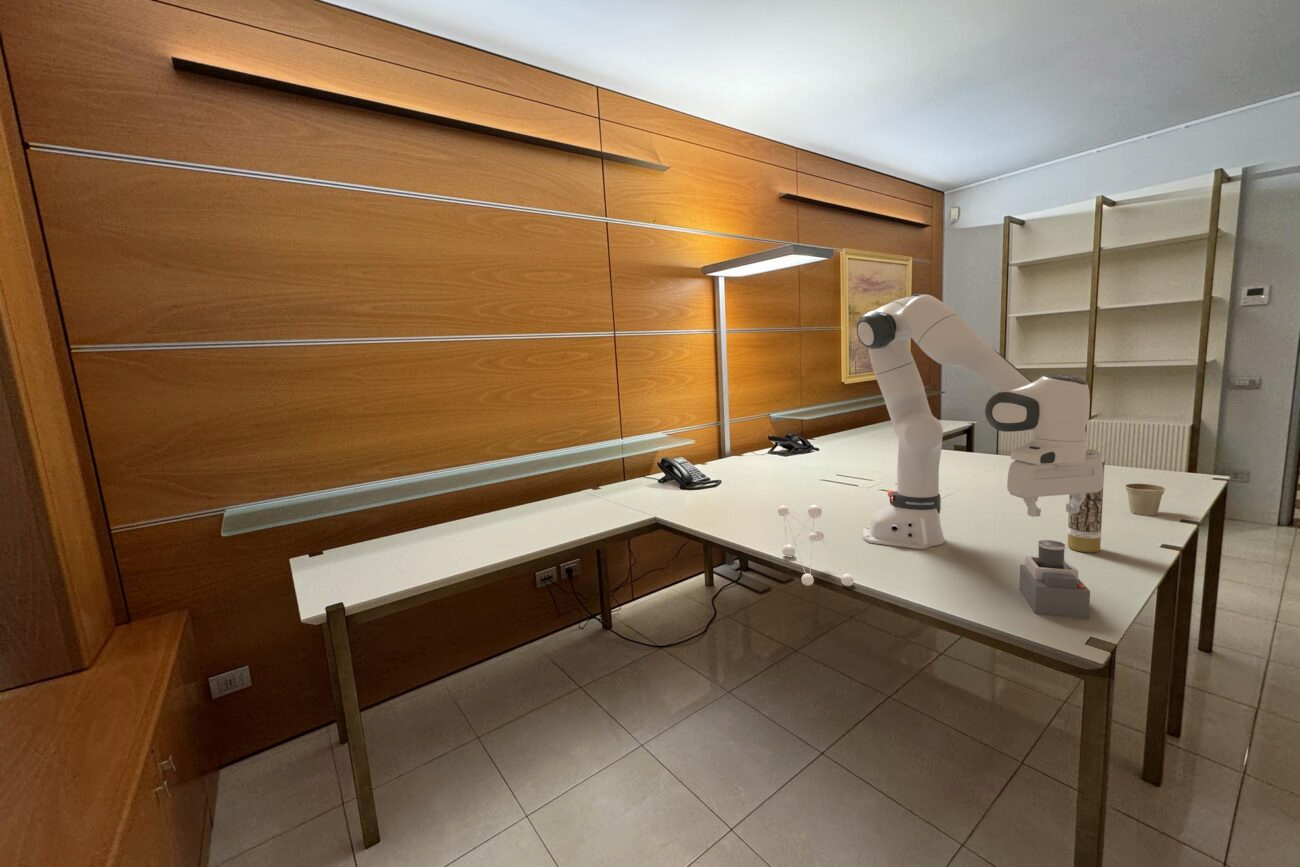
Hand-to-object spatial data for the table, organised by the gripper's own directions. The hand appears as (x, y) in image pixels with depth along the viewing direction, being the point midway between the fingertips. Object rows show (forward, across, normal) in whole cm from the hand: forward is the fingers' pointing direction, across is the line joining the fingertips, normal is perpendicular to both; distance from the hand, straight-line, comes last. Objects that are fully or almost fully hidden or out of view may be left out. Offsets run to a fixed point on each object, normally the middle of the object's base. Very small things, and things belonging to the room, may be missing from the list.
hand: (1053, 514), depth 109 cm
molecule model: (+22, +41, -30) cm, 55 cm away
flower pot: (+18, -76, -40) cm, 87 cm away
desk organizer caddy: (+19, +1, +2) cm, 20 cm away
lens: (+13, 0, +1) cm, 13 cm away
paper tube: (+19, -33, -21) cm, 44 cm away
